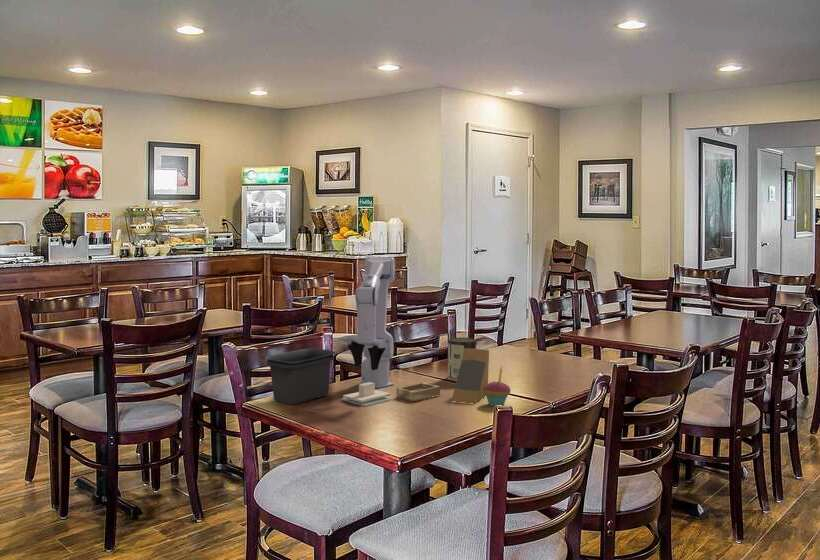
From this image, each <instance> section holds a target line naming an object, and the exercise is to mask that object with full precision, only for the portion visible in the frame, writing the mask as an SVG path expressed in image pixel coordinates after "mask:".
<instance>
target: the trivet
mask: <svg viewBox="0 0 820 560" xmlns="http://www.w3.org/2000/svg"><path fill="white" fill-rule="evenodd" d="M391 399H392V398H389V397H387V396H386V397H384V398H380V399H376V400H371V401H367V402H363V403H361V402H357V401H353V400H350V399H347V398H344V397H342V398H341V401H344V402H347V403H351V404H354V405H357V404H358V405H357V406H361V407H368V406H373V405H377V404H382V403H385V401H386V402H389V400H390V401H392V400H391ZM381 402H382V403H381Z"/></svg>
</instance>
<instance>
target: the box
mask: <svg viewBox="0 0 820 560" xmlns="http://www.w3.org/2000/svg"><path fill="white" fill-rule="evenodd" d="M395 394H396V398H397V397H399V398H398V399H401V398H403V399H402V400H405V399H407V400H406V401H409V400H411V401H410V402H413V401H416V402H419V401H418V400H420V401H422V400H421V399H424V398H428V397H432V396H436V395H440V396H441V386H440V385H435V384H431V383H426V382H418V383H414V384H409V385H405V386H401V387H397V388H396V393H395ZM436 397H437V396H436ZM432 398H433V397H432ZM428 399H429V398H428ZM424 400H425V399H424Z"/></svg>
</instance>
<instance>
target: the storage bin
mask: <svg viewBox="0 0 820 560" xmlns="http://www.w3.org/2000/svg"><path fill="white" fill-rule="evenodd" d="M335 354H336V351H334V350H330V349H329V350H328V349H323V348H316V347H315V348H314V347H313V348H302V349H297V350H296V349H295V350H291V351H285V352H281V353H277V354H272V355H271V354H270V355H268V356H265V359H266V365H267V366H269V367H270V368H269V369H270V376H271V384H272V385H271V387H272V393H273V400H274V401H275V402H278V403H282V404H286V405H292V406H293V405H296V404H300V403H304V402H306V401H310V400H314V399H317V398H322V397H325V396H328V395H329V391H330V377H331V376H330V375H331V363H332V361H333V360H335V356H334V355H335Z"/></svg>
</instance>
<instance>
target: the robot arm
mask: <svg viewBox="0 0 820 560" xmlns="http://www.w3.org/2000/svg"><path fill="white" fill-rule="evenodd" d="M364 272H365V276H364V277H363V279H362V281H361V284H360V286H358V288H356V289H355V295H354V296H355V304H356V306H355V308H356V309H355V310H356V313H357V314H356V315H357V318H356V319H357V323H356V324H357V329H356V330H357V331H356V334H357V335H356V336H355V335H349V336H348V343H350V344H347V346H348V347H347V348H348V349H349V351H350V352H351V353H350V354H351V355H352V358H353V362H354V366H355V367H360V368H361V373H360V374H361V376H360V377H361V381H360V382H359V384H364V383H369V382H372V383H375V389H379V388H384V387H388V386H393V385H395V383H394V382H390V359H392V358H393V356H394V351H395V350H394V348H395V347H394V338H393V335H392V334H391V333H389V332H388V331H387V311H388V310H387V309H388V295H389V294H388V290H389V287H390V284H392V283H393V282H395V277H396V275H395V274H396V260H395V257H393V256H390V257H388V256H387V257H385V256H383V257H382V256H379V257H378V256H367V257H365V260H364ZM363 357H364V359H363Z"/></svg>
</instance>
